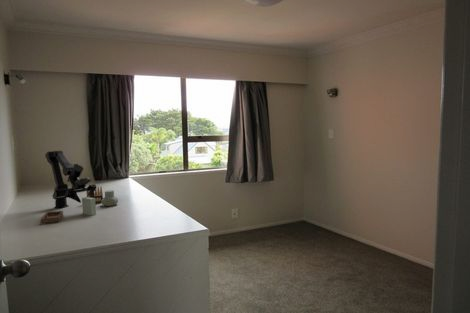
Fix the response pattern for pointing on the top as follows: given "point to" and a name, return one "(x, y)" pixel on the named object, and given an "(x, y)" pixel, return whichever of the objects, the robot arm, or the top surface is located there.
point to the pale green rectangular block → (89, 206)
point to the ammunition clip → (97, 195)
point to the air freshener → (109, 198)
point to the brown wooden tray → (52, 217)
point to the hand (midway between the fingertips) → (87, 200)
